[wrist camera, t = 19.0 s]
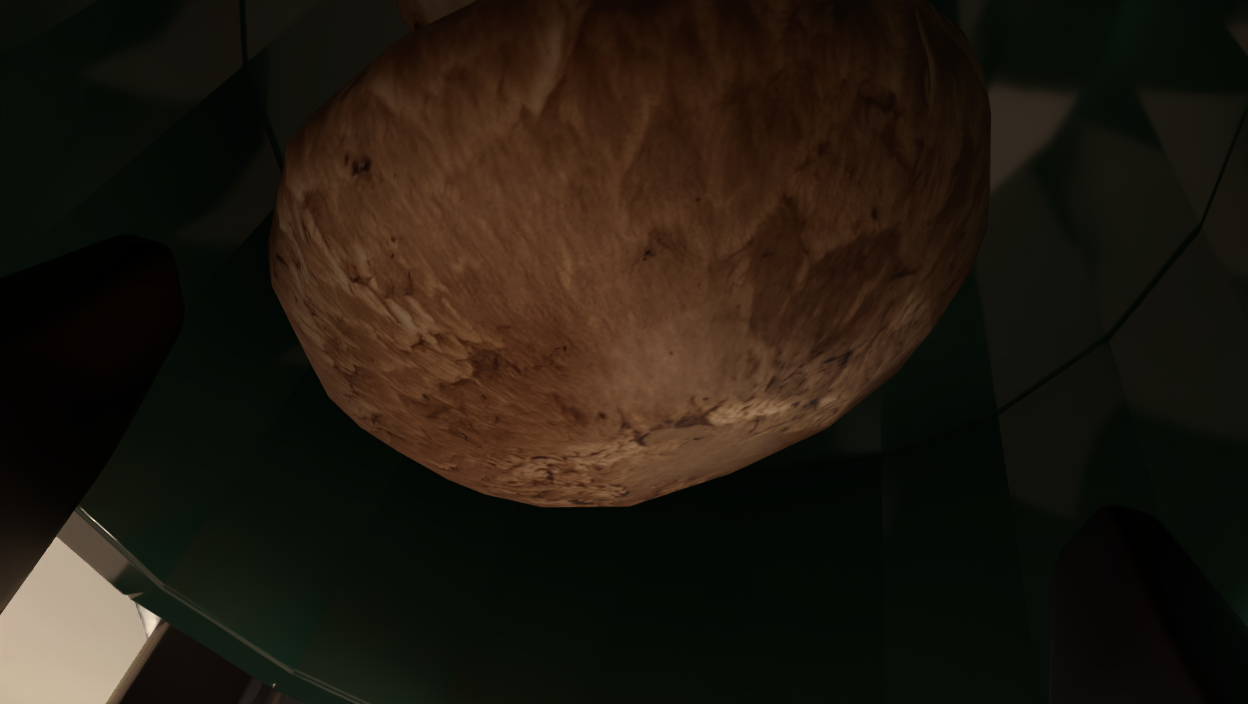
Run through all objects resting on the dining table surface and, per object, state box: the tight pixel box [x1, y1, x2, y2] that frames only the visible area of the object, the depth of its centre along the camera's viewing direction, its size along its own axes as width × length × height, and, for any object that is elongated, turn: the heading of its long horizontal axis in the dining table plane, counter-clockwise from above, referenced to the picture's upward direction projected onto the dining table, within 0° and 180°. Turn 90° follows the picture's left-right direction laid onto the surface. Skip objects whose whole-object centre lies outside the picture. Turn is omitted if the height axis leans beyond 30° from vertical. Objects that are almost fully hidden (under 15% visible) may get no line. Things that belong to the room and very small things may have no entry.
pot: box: [0, 0, 1248, 704], centre depth 10 cm, size 15×15×6 cm
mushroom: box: [267, 0, 991, 507], centre depth 11 cm, size 8×8×6 cm
